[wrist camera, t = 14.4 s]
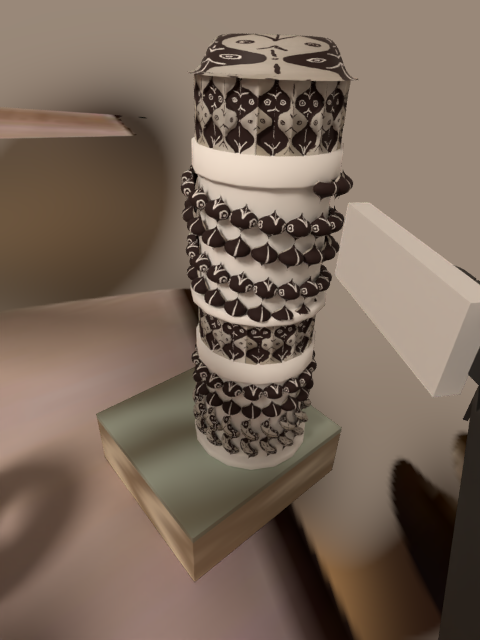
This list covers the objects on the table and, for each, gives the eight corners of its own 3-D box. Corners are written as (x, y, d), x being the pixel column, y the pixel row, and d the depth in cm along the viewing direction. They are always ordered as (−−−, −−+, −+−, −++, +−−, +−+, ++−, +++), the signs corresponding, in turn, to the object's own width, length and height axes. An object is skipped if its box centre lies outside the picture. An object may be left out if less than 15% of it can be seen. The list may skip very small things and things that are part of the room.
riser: (105, 456, 36) (96, 413, 34) (232, 387, 44) (234, 348, 41) (194, 581, 28) (192, 538, 25) (332, 470, 36) (341, 427, 33)
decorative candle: (276, 375, 38) (309, 40, 25) (333, 452, 31) (423, 40, 18) (176, 399, 35) (153, 33, 22) (214, 491, 28) (215, 28, 15)
